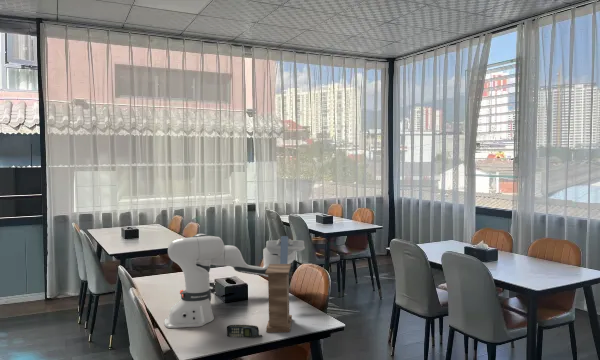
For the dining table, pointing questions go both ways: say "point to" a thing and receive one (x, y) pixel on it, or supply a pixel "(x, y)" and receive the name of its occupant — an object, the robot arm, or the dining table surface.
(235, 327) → the mobile phone
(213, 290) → the graphics card
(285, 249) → the batten
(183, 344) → the dining table surface
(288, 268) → the pedestal
